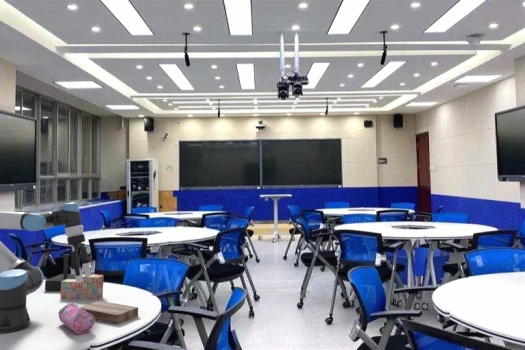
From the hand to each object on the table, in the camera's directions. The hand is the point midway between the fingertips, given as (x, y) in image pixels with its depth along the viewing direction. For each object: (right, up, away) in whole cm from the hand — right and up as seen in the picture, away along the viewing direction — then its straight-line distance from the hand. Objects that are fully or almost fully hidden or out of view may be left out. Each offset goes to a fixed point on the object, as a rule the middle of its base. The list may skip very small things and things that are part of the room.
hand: (84, 279), depth 184 cm
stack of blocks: (-16, -19, +31) cm, 40 cm away
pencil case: (+4, -17, -17) cm, 24 cm away
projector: (-36, -20, +54) cm, 68 cm away
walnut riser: (+11, -17, -1) cm, 20 cm away
